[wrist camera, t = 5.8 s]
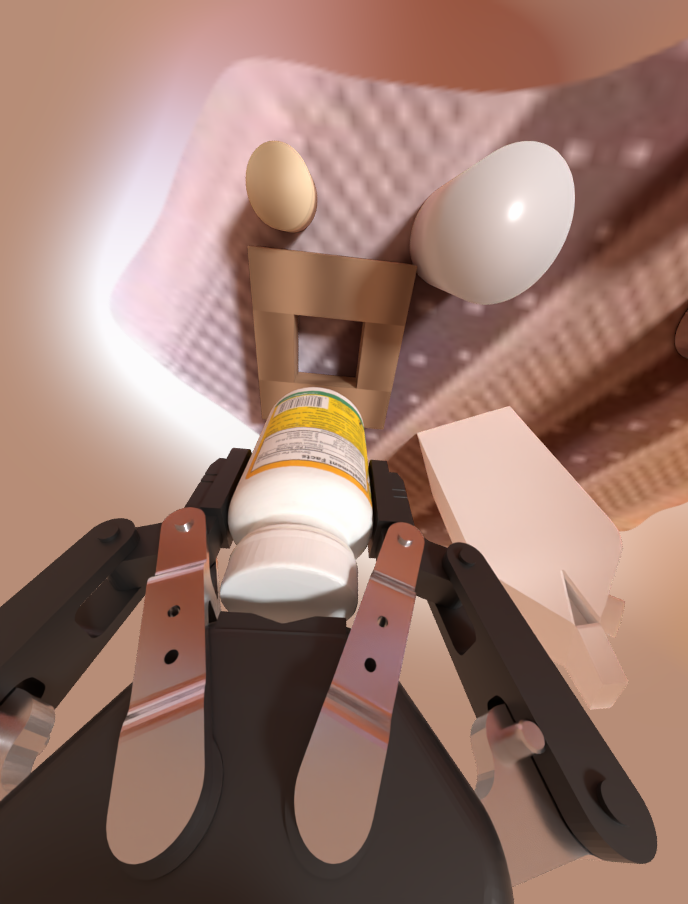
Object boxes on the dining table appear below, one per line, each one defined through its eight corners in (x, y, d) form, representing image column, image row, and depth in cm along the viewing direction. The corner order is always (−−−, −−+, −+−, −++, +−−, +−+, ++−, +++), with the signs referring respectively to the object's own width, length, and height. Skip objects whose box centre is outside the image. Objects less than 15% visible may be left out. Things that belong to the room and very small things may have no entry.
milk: (416, 433, 37) (511, 677, 16) (509, 405, 35) (762, 651, 14) (432, 494, 44) (513, 724, 23) (511, 475, 41) (682, 712, 20)
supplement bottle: (304, 362, 14) (250, 516, 6) (384, 423, 16) (423, 597, 8) (251, 435, 16) (164, 611, 8) (326, 479, 18) (312, 655, 10)
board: (410, 263, 26) (417, 265, 23) (380, 415, 35) (383, 429, 33) (257, 245, 25) (247, 245, 23) (268, 406, 35) (261, 419, 32)
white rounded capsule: (513, 184, 23) (604, 149, 15) (479, 291, 27) (535, 309, 19) (421, 174, 23) (462, 132, 14) (401, 284, 27) (425, 299, 19)
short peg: (318, 164, 22) (312, 145, 18) (316, 235, 25) (310, 233, 21) (260, 156, 22) (241, 135, 18) (264, 229, 25) (249, 226, 21)
